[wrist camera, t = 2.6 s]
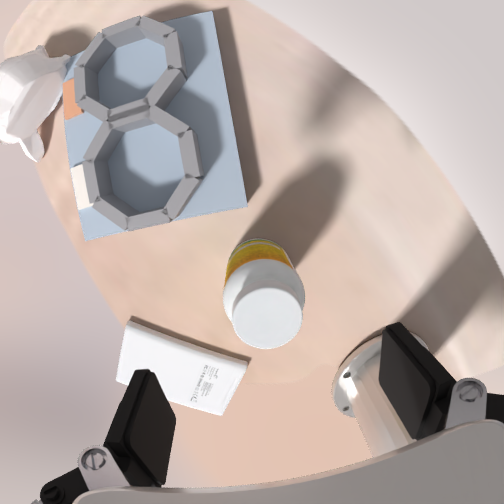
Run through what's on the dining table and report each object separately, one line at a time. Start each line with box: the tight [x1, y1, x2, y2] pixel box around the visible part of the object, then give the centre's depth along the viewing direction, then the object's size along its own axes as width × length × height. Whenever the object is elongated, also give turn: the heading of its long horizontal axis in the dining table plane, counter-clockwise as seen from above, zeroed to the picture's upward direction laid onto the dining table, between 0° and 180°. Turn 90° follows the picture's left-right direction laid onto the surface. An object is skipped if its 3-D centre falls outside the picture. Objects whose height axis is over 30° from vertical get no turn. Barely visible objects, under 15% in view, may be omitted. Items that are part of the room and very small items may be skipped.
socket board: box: [62, 11, 248, 241], centre depth 19 cm, size 17×14×4 cm
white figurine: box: [0, 45, 71, 162], centre depth 17 cm, size 9×8×15 cm
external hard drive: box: [116, 320, 247, 416], centre depth 28 cm, size 2×8×12 cm
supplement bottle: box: [223, 239, 305, 349], centre depth 21 cm, size 5×5×10 cm
